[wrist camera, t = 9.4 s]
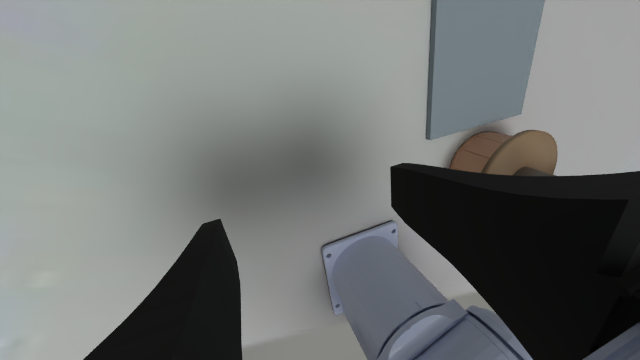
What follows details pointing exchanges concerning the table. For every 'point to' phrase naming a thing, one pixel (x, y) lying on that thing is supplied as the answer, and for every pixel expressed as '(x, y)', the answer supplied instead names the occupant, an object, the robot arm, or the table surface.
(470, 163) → the bowl
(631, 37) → the table surface
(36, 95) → the table surface
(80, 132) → the table surface
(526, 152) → the lid
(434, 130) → the mat
